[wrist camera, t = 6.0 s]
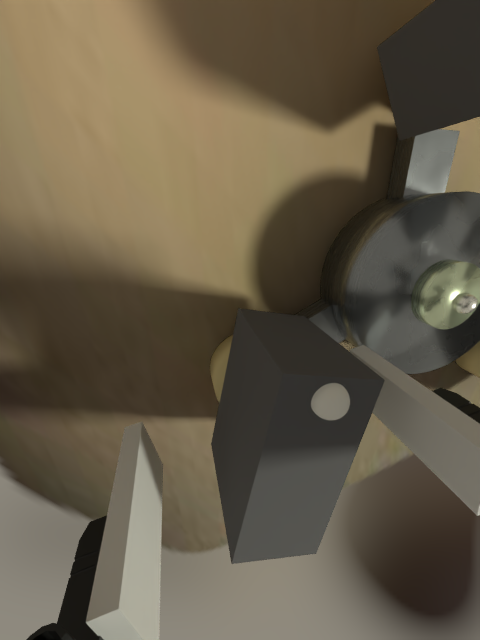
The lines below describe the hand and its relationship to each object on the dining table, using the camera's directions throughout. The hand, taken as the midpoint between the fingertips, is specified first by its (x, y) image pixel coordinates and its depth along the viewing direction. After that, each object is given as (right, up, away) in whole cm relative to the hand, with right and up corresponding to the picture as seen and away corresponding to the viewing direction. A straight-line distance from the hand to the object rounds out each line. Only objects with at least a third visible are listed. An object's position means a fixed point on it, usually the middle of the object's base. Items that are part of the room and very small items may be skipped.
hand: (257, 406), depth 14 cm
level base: (+7, +6, +4) cm, 10 cm away
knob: (0, +1, +3) cm, 4 cm away
